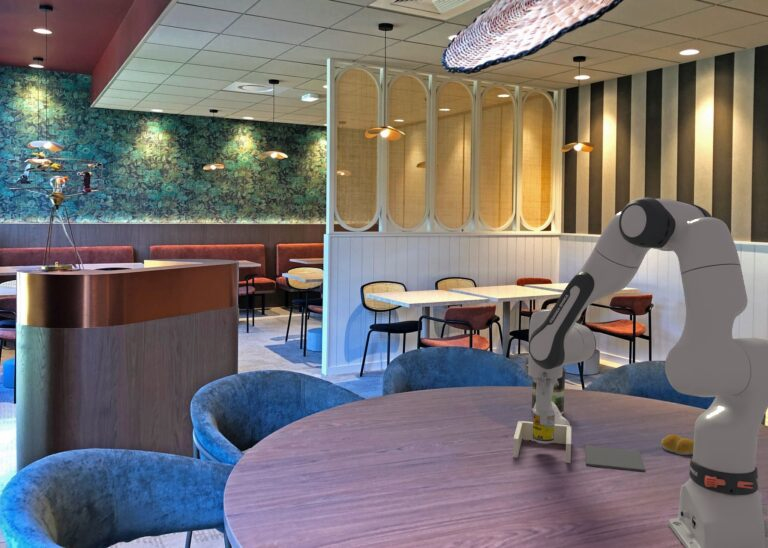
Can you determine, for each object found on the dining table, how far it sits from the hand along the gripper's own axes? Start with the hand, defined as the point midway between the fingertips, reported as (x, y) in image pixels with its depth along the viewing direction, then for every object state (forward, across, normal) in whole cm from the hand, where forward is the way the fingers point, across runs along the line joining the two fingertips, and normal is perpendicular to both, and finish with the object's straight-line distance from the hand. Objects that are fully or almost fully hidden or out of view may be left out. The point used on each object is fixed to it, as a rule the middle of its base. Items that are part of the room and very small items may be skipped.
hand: (543, 420), depth 177 cm
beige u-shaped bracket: (+9, +2, 0) cm, 9 cm away
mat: (+9, 0, -18) cm, 20 cm away
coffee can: (+8, +39, 0) cm, 40 cm away
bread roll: (+9, +13, -35) cm, 39 cm away
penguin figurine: (+9, +20, -2) cm, 22 cm away
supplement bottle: (+6, 0, 0) cm, 6 cm away
